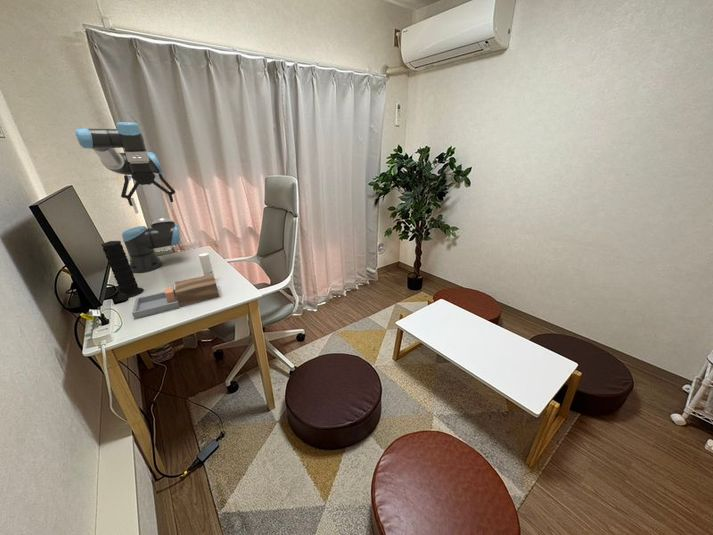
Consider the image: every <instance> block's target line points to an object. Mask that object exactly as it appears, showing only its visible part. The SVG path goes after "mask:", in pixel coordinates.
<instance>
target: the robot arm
mask: <svg viewBox="0 0 713 535" xmlns="http://www.w3.org/2000/svg"><path fill="white" fill-rule="evenodd" d="M115 125H116V128H86V127H85V128H76V129H75V136H76V139H77V141H78V144H79V145H80V147H81V148H83V149H90V150H91V149H92V150H93V151H94V153H96V155H97V156H98V157H99V159H100V162H101V164H102V165H103V166H104V167H105V168H106V169H107V170H109V171H111V172H113V173H114V172H115V173H116V174H121V175H124V176H123V178H124V183H123V187H122V190H121V191H122V192H121V195H120V197H121V198H123V199H126V200H127V201H128V204H129V206H130V207H133V210H134V213H135V214H139V210H138V207H137V205H136V201H135V199H134V198H135V197H132V196H133V195H134V193H135V192H136V190H137V189H138V187H139V185H141V186H142V189H143V193H144V196H145V198H146V203H147V206H148V209H149V212H150V216H151V218H152V223H151V224H150V227H149V228H148V227H146V226H145V225H141V226H135V227H132V228H129V229H126V230H123V232H122V233H121V236H122V242H123V243H124V245H125V249H126V251H127V253H128V256H129V265H130V266H131V269H132V272H133V274H134V273H135V274H138V273H140V274H141V273H147V272H151V271H155V270H157V269H159V268H161V267H162V266H163V261H162V260H161V258H160V257H159V256H158V255H157V253H156V252H155V249H160V248H165V247H173V246H178V245H179V244H181V233H180V229H179V224H176V223H175V221H174V220H172V219H171V217H170V213H169V210H168V206H167V203H166V200H165V196H164V193H165V194H167V195H166V198H167V202H168V205H169V208H170V211H173V210H174V208H173V204H172V203H174V199H173V195H174V194H176V190H175V189H174V188H173V187H172V186H171V185H170V183H168V181H167V180H166V179H165V178H164V176H163V174H164V172H163V169H162V167H161V164H160V161H159V160H158V158H157V155H156V154H155V153H154V152H151V151H149V152H148V151H147V148H146V146H145V140H144V136H143V135H142V130H141V128H140V125H139V124H138V123H136V122H126V121H125V122H123V121H119V122H117V123H116V124H115ZM116 149H123V150H124V152H117V150H116ZM132 179H133V181H135V183H134V185H133V187H132V188H131V190H130V191H129V192H128V194H127V191H128V188H129V185H130V184H129V183H130V181H131V180H132ZM160 181H161V182H162V183H163V184H164V185H165V186H166V188H165V187H164V186H163V185H161V182H160ZM163 192H164V193H163Z"/></svg>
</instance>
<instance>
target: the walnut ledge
mask: <svg viewBox="0 0 713 535" xmlns="http://www.w3.org/2000/svg"><path fill="white" fill-rule="evenodd" d="M174 284H175V285H174V286H175V288H174V290H175V294H176V297H177V300H178V303H179V306H180V308H181V307H185V306H189V305H193V304H197V303H200V302H205V301H208V300H209V301H210V300H213V299H217V298H220V294H219V289H218V286H217V282H216V278H215V275H214V273H213V274H211V275H206V276H204V275H203V276H197V277H193V278H188V279H184V280H180V281H179V280H178V281H175V283H174Z"/></svg>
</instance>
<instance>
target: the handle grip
mask: <svg viewBox="0 0 713 535" xmlns="http://www.w3.org/2000/svg"><path fill="white" fill-rule="evenodd" d="M100 246H101V247H102V251H103V252H104V255H105V257H106V259H107V262H108V265H109V268H111V272H112V275H113V277H114V278H115V281H116V284H117V287H119V288H118V289H119V291H120V293H118V295H117V298H118V299H121V300H122V299H124V300H125V299H129V298H134V297H137V296H138V295H141V294H143V293H144V290H145V289H144V288H142V287H139V286H138V283H137V281H136V277H135V275H134V272H132V269H131V266H130V261H129V258H128V257H127V254H126V252H125V249H124V246H123V244H122V241H121V240H109V241H106V242H104V243H102V244H100ZM121 293H122V294H126V295H122V294H121Z"/></svg>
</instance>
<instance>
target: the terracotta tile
mask: <svg viewBox="0 0 713 535" xmlns="http://www.w3.org/2000/svg"><path fill="white" fill-rule="evenodd" d="M164 292H165V296H166V299H167V301H168V303H172V302H176V301H177V297H176V294H175V288H174V286H168V287H165V289H164Z"/></svg>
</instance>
